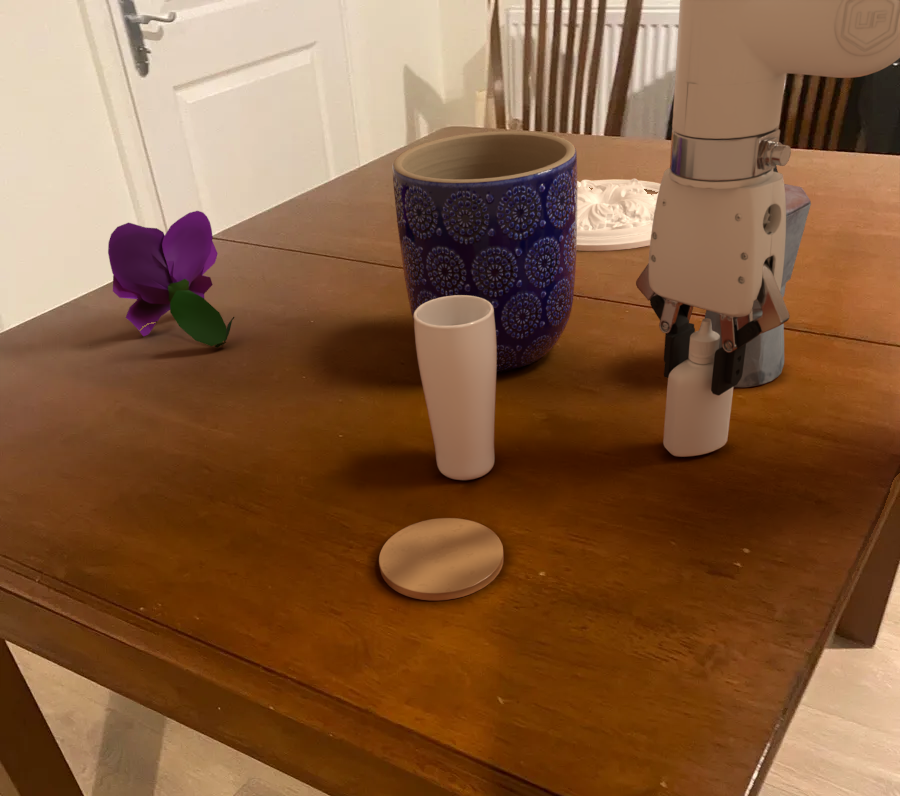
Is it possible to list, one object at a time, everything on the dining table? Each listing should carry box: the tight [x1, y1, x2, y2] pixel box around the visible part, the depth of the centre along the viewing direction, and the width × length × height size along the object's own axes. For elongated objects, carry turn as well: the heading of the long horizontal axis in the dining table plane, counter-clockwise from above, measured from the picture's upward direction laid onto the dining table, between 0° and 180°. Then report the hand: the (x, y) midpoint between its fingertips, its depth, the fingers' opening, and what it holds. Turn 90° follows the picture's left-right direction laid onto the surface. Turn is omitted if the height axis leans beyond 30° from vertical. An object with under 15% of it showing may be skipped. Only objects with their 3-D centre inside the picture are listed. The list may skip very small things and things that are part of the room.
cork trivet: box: [378, 517, 505, 602], centre depth 74 cm, size 10×10×1 cm
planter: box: [391, 130, 578, 373], centre depth 97 cm, size 18×18×21 cm
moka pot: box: [703, 165, 812, 388], centre depth 89 cm, size 10×15×20 cm, turn 158°
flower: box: [107, 210, 236, 349], centre depth 110 cm, size 15×15×14 cm
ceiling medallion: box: [576, 177, 661, 252], centre depth 134 cm, size 28×28×3 cm
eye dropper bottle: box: [662, 317, 734, 458], centre depth 80 cm, size 4×6×12 cm
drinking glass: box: [413, 295, 497, 481], centre depth 80 cm, size 7×7×15 cm
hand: (701, 378), depth 79 cm, fingers closed on eye dropper bottle, 4 cm apart
